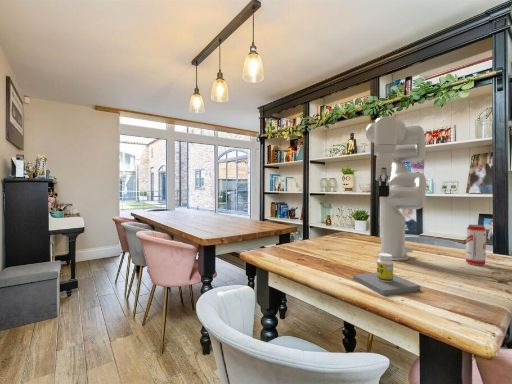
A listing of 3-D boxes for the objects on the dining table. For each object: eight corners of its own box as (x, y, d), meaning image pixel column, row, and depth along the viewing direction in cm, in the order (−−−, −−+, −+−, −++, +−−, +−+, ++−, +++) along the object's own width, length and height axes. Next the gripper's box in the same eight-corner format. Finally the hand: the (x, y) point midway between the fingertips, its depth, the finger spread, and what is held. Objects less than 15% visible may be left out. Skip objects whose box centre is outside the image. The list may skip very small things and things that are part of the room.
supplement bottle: (374, 277, 90) (374, 252, 90) (387, 277, 90) (387, 252, 90) (382, 282, 85) (382, 256, 85) (396, 282, 85) (396, 256, 85)
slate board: (386, 275, 96) (386, 271, 96) (420, 290, 83) (420, 285, 83) (353, 279, 92) (353, 275, 92) (383, 295, 79) (383, 290, 79)
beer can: (482, 263, 112) (483, 225, 112) (487, 267, 106) (488, 227, 106) (463, 261, 115) (464, 224, 114) (468, 265, 109) (469, 226, 109)
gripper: (375, 153, 110) (375, 195, 111) (372, 148, 95) (371, 197, 95) (396, 152, 106) (395, 195, 107) (395, 147, 91) (394, 197, 92)
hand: (384, 196), depth 101 cm, fingers open, 9 cm apart
